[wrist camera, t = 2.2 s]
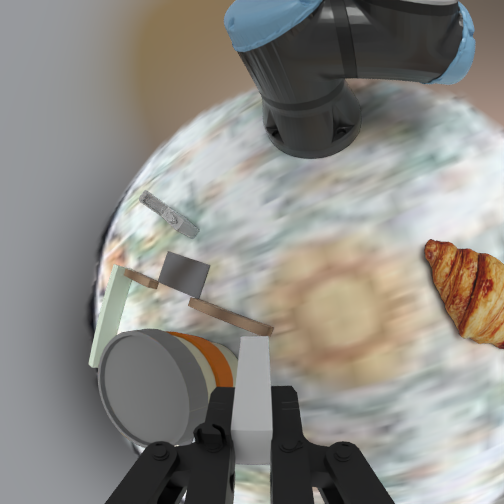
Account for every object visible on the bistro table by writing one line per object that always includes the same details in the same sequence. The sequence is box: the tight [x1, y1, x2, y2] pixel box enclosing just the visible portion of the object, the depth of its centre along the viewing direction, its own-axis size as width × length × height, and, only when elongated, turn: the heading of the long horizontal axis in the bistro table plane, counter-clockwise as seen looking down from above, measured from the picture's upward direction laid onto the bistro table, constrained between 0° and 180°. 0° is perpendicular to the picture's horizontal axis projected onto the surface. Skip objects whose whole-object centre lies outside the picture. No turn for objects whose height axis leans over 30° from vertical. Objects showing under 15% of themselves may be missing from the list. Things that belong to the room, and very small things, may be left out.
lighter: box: [139, 190, 199, 239], centre depth 39 cm, size 7×2×8 cm, turn 49°
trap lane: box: [124, 251, 274, 446], centre depth 37 cm, size 27×28×2 cm
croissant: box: [424, 239, 504, 349], centre depth 23 cm, size 21×10×8 cm, turn 46°
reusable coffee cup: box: [98, 329, 238, 448], centre depth 29 cm, size 13×13×15 cm
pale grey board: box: [89, 264, 134, 368], centre depth 42 cm, size 1×18×4 cm, turn 160°
